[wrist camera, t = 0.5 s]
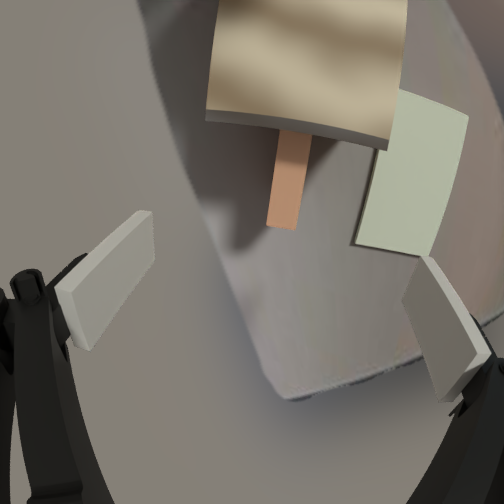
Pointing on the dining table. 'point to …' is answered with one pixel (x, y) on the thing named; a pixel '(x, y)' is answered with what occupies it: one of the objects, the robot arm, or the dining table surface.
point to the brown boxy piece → (309, 66)
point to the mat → (413, 176)
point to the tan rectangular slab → (288, 179)
